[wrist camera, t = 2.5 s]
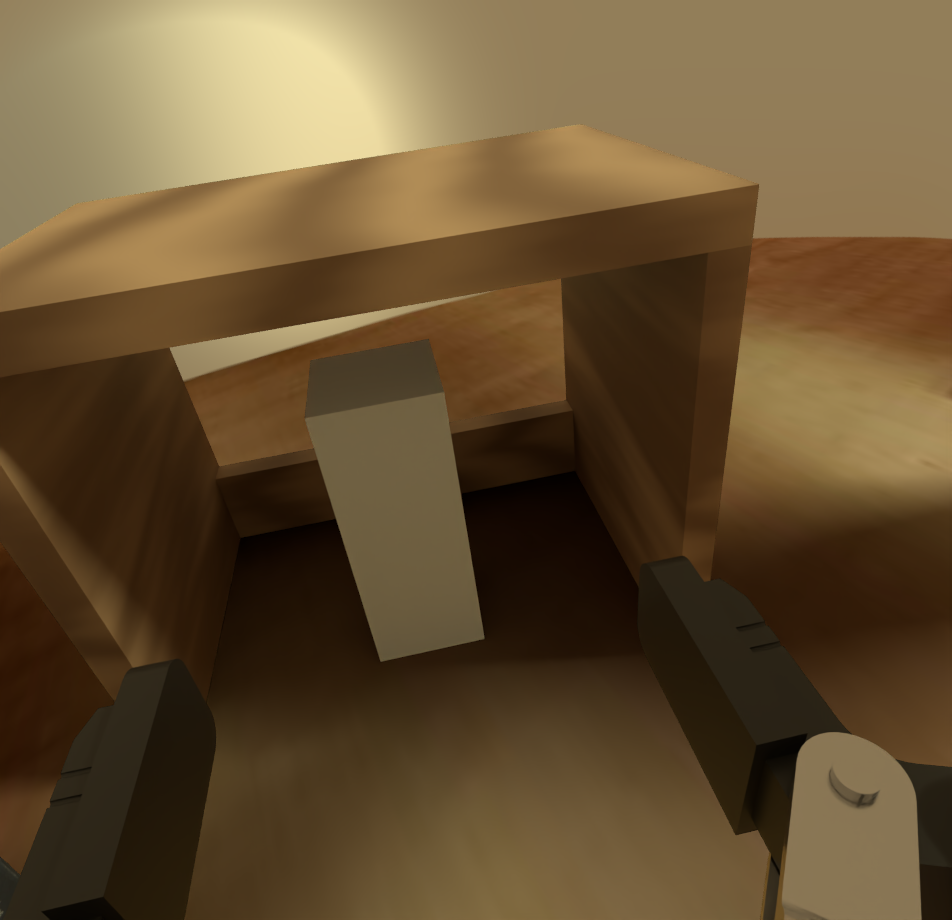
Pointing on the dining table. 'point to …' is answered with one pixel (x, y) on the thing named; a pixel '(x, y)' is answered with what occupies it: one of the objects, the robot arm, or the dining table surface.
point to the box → (6, 885)
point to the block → (396, 494)
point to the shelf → (344, 294)
